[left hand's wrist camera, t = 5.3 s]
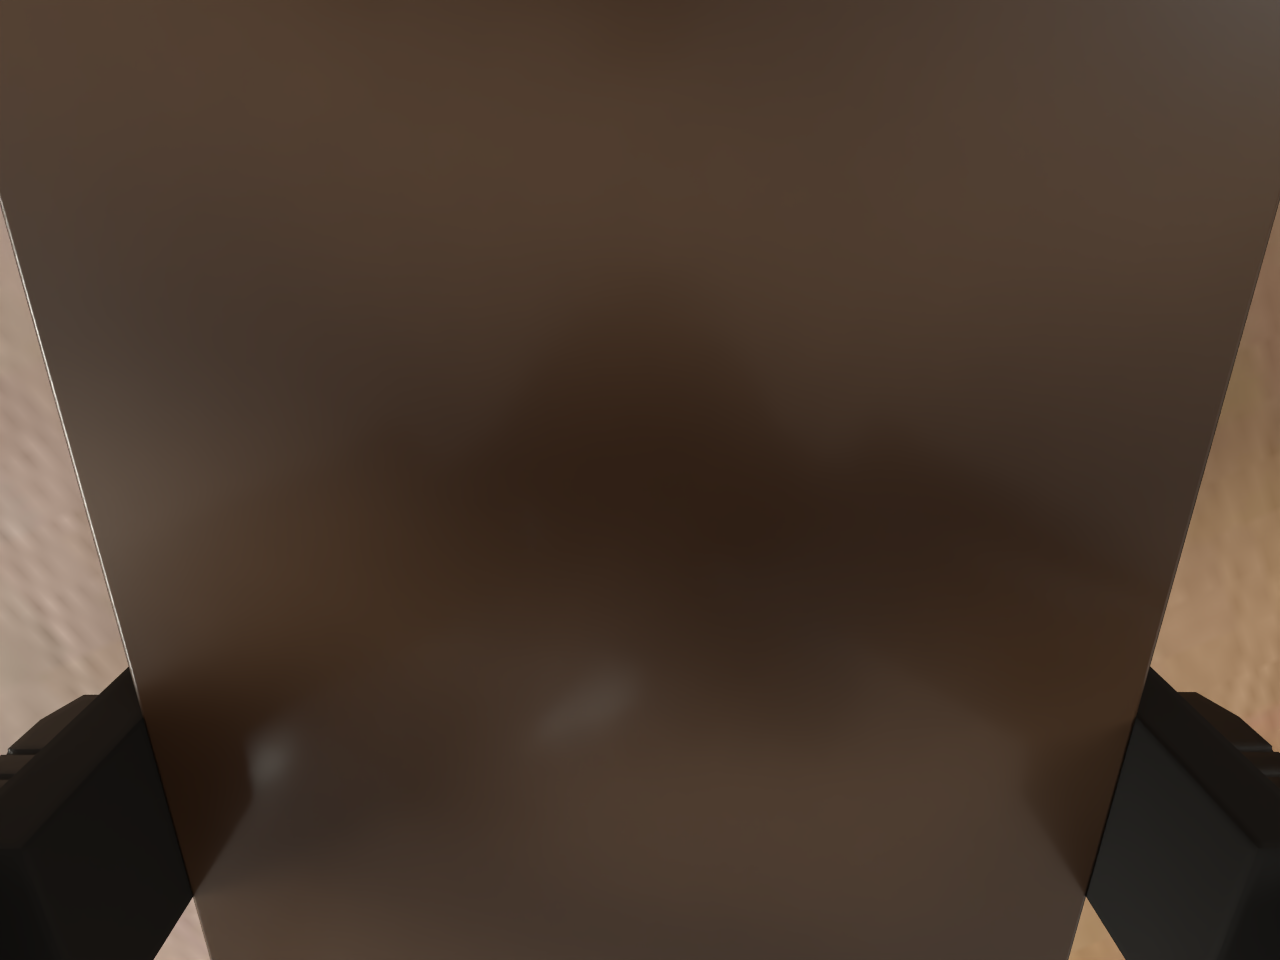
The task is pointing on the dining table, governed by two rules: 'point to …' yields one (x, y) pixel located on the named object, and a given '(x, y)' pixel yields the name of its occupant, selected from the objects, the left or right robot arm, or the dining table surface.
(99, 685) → the dining table surface
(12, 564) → the dining table surface
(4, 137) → the cabinet
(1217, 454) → the dining table surface
